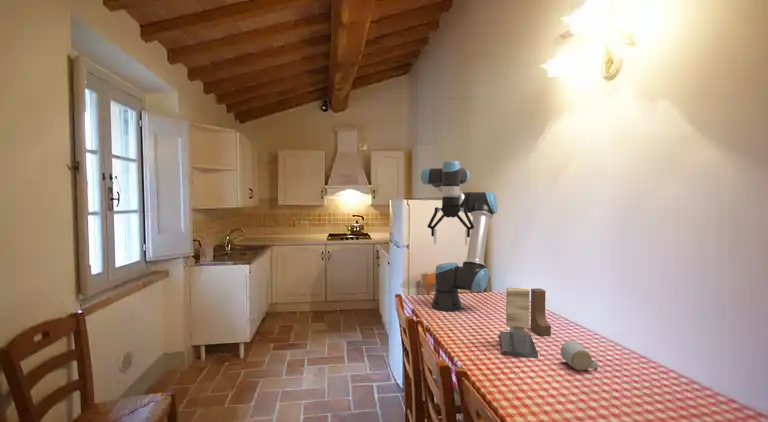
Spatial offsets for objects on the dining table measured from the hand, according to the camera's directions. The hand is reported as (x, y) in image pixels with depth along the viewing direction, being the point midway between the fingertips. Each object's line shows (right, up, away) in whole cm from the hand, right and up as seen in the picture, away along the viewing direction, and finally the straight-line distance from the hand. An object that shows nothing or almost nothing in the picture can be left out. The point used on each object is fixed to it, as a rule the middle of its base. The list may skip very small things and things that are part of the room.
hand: (450, 244), depth 173 cm
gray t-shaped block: (+22, -37, -21) cm, 48 cm away
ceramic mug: (+37, -38, -40) cm, 67 cm away
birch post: (+22, -29, -21) cm, 42 cm away
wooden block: (+37, -37, -6) cm, 53 cm away
